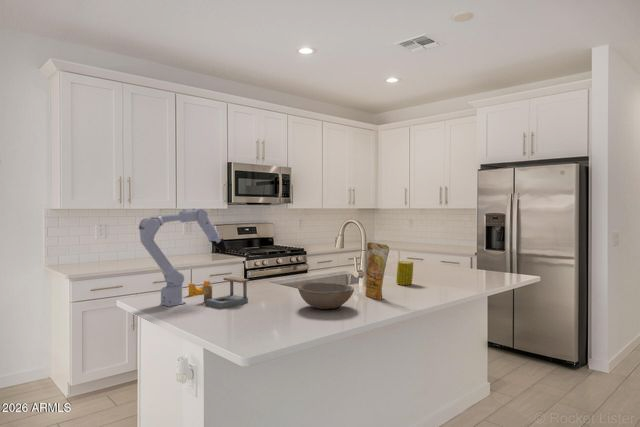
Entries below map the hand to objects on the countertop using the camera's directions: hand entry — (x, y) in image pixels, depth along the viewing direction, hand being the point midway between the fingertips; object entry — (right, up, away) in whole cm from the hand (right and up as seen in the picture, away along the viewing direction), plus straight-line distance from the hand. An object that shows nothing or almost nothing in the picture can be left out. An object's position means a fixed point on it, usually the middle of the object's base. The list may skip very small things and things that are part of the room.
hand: (222, 250), depth 229 cm
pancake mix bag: (+80, -25, -1) cm, 83 cm away
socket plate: (+6, -25, -17) cm, 31 cm away
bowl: (+54, -25, -25) cm, 64 cm away
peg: (-5, -25, -12) cm, 28 cm away
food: (+102, -24, +36) cm, 111 cm away
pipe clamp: (-15, -25, +8) cm, 30 cm away
